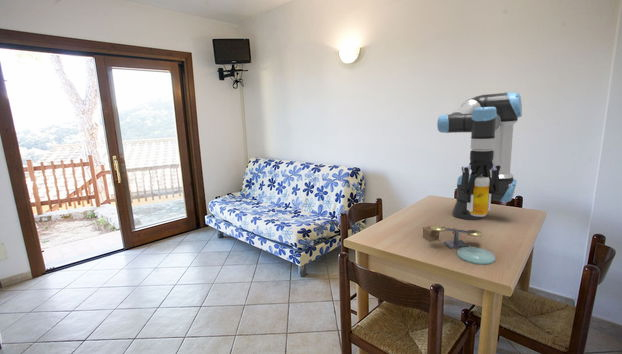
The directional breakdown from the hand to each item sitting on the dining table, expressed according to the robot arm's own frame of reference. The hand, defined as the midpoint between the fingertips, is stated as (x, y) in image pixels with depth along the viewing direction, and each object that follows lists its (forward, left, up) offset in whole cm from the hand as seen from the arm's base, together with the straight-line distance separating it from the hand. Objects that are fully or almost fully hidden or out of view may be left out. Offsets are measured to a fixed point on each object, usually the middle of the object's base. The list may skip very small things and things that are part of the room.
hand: (478, 209), depth 112 cm
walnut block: (+9, -20, -19) cm, 29 cm away
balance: (+2, -11, -19) cm, 22 cm away
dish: (0, 0, -19) cm, 19 cm away
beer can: (0, 0, -2) cm, 2 cm away
